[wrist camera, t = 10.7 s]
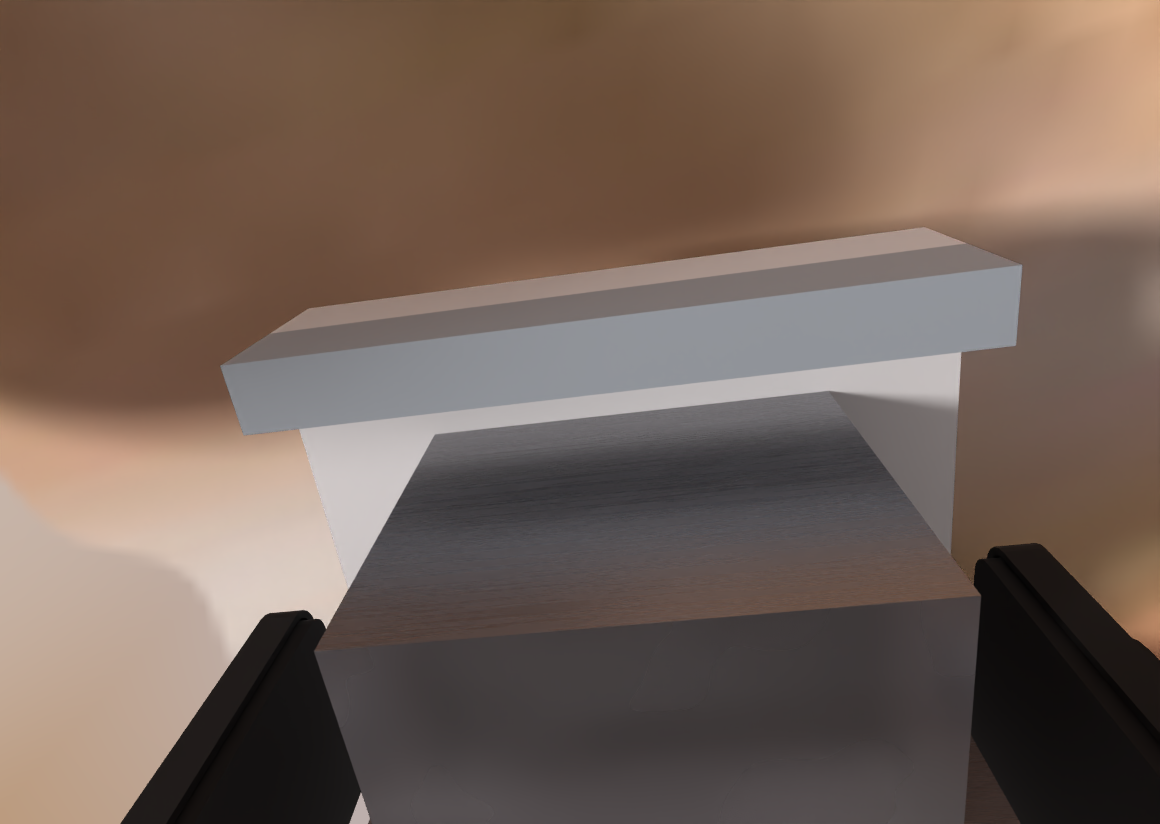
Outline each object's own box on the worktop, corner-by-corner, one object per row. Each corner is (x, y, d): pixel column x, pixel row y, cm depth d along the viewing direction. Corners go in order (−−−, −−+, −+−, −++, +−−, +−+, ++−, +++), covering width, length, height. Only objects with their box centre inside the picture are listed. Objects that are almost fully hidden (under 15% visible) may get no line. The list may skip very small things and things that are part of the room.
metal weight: (828, 390, 11) (981, 595, 6) (832, 704, 13) (948, 1025, 9) (434, 434, 12) (313, 652, 7) (502, 727, 14) (444, 1041, 9)
